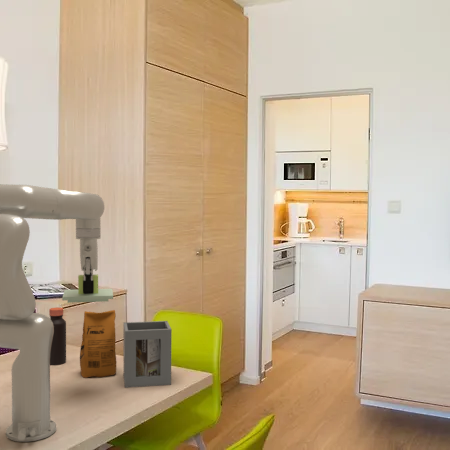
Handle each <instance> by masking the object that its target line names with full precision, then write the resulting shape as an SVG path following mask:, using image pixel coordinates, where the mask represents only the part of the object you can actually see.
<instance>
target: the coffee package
mask: <svg viewBox="0 0 450 450" xmlns="http://www.w3.org/2000/svg"><path fill="white" fill-rule="evenodd" d="M83 316H84V317H83V327H82V336H81V338H82V340H81V344H80V351H79V366H80V367H79V368H80V376H82V378H85V379H86V378H92V377H97V378H104V377H105V378H106V377H110V376H114V375H116V372H117V355H116V310H115V309H113V310H108V311H103V312H102V311H101V312H94V311H84V315H83Z"/></svg>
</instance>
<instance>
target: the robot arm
mask: <svg viewBox="0 0 450 450" xmlns="http://www.w3.org/2000/svg"><path fill="white" fill-rule="evenodd" d="M104 212H105V201H104V200H103V198H102V197H101V196H100V195H99V194H96V193H90V192H80V191H72V190H66V189H60V188H59V189H58V188H50V187H42V186H37V185H29V184H0V348H5V349H11V350H13V349H14V350H18V351H19V353H18V354H17V356H16V357H15V359H14V361H13V363H12V365H11V424H10V425H9V426H7V427H6V429H5V436H6V437H7V439H9V440H11V441H15V442H21V443H23V442H24V443H26V442H34V441H39V440H43V439H46V438H48V437H50V436H52V435H53V434H54V433H56V431H57V423H56V421H55V420H52V419H51V365H50V351H51V344H52V339H53V333H54V326H53V322H52V321H51V319H50V316H47V315H45V314H42V313H38V312H35V310H36V308H37V307H36V298H35V295H34V293H33V290H32V288H31V285H30V284H29V281H28V279H27V276H26V274H25V272H24V268H23V259H24V255H25V251H26V248H27V246H28V242H29V239H30V235H31V234H30V233H31V232H30V225H29V222H28V221H27V220H26V219H32V220H33V219H36V220H60V221H61V220H75V240H79V260H80V269H81V271H82V272H83V275H84V281H83V293H84V294H88V293H94V280H93V275H94V271H95V272H97V271H98V265H99V264H98V261H99V259H98V258H99V256H98V255H99V254H98V251H99V250H98V247H99V245H98V240H99V239H101V217H102V216H103V215H104ZM85 280H86V281H85Z"/></svg>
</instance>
